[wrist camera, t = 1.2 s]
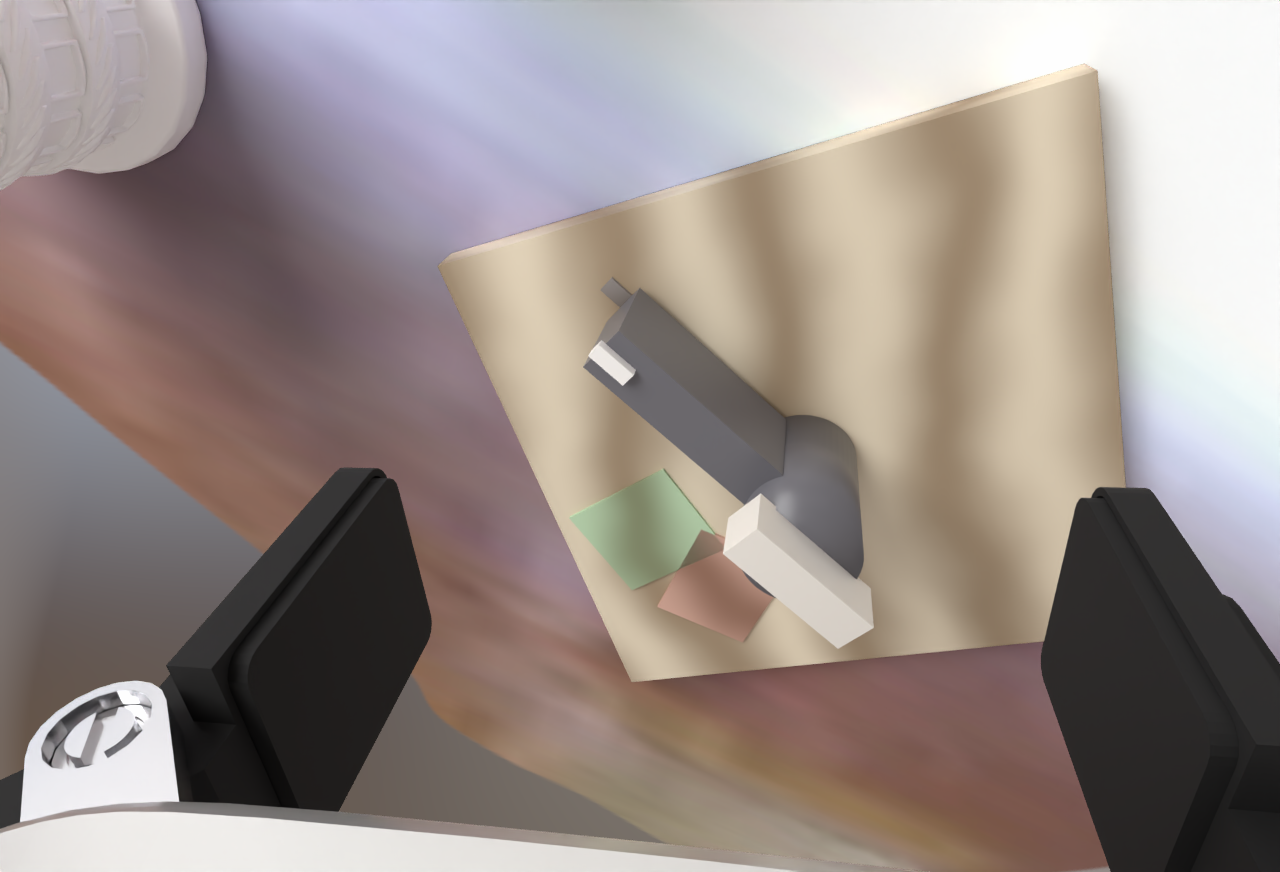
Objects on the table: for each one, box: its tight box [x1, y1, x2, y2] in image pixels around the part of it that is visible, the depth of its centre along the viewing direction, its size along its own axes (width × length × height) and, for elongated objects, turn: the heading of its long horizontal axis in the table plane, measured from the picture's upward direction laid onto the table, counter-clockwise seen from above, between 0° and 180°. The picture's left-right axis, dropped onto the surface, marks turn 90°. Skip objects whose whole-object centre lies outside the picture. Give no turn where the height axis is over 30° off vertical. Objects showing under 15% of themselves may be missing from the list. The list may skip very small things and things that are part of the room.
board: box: [438, 64, 1126, 682], centre depth 35 cm, size 24×24×2 cm
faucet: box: [583, 288, 874, 649], centre depth 30 cm, size 13×4×8 cm, turn 49°
